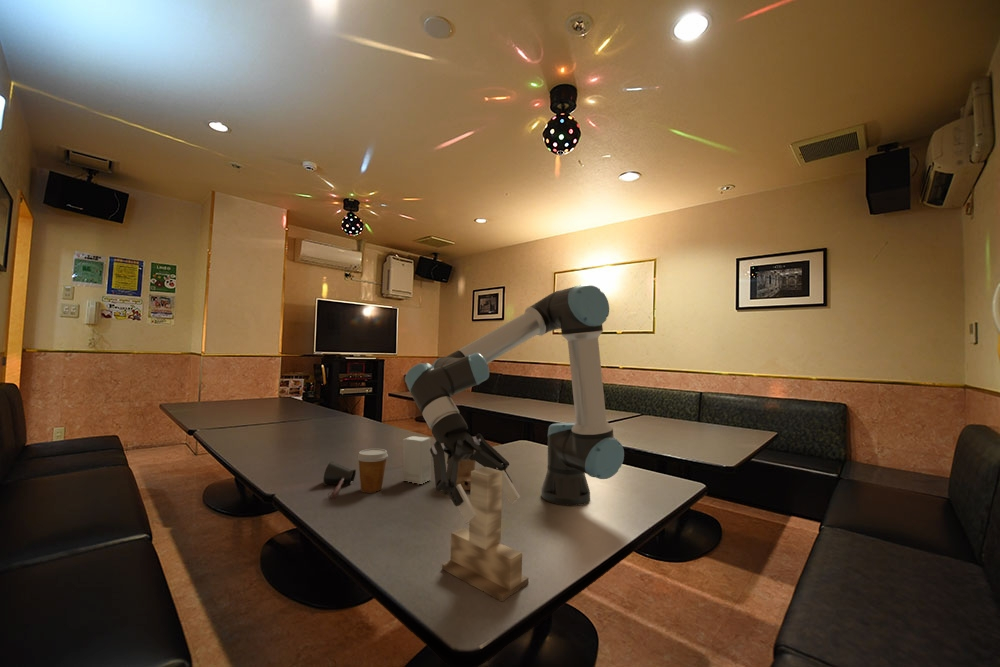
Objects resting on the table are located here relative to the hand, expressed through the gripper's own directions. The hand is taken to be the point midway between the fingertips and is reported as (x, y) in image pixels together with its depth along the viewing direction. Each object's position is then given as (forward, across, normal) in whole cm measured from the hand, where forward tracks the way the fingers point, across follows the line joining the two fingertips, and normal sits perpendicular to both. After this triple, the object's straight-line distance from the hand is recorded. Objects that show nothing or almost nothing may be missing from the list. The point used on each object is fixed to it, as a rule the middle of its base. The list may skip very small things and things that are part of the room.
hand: (495, 509), depth 79 cm
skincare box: (-32, -28, -52) cm, 67 cm away
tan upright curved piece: (-22, -37, -42) cm, 61 cm away
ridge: (+8, 0, -11) cm, 14 cm away
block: (+3, 0, -7) cm, 8 cm away
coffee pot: (-41, -5, -61) cm, 74 cm away
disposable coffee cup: (-35, -12, -54) cm, 66 cm away
